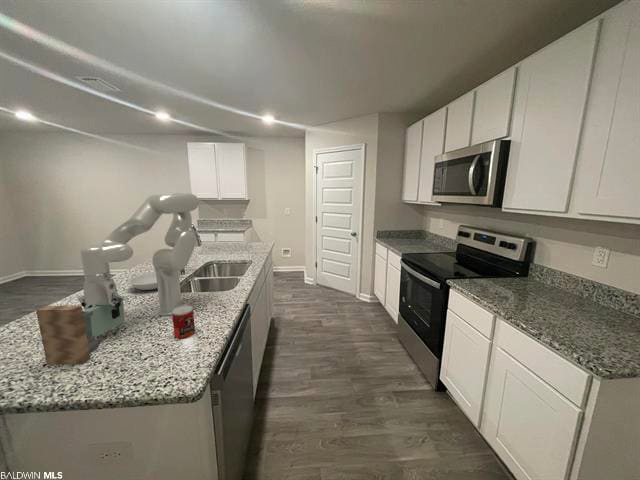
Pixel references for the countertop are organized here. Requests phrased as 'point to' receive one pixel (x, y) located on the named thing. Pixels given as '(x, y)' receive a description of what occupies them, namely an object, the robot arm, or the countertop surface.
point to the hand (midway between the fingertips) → (104, 317)
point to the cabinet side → (64, 335)
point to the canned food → (183, 322)
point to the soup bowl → (144, 281)
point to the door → (100, 320)
